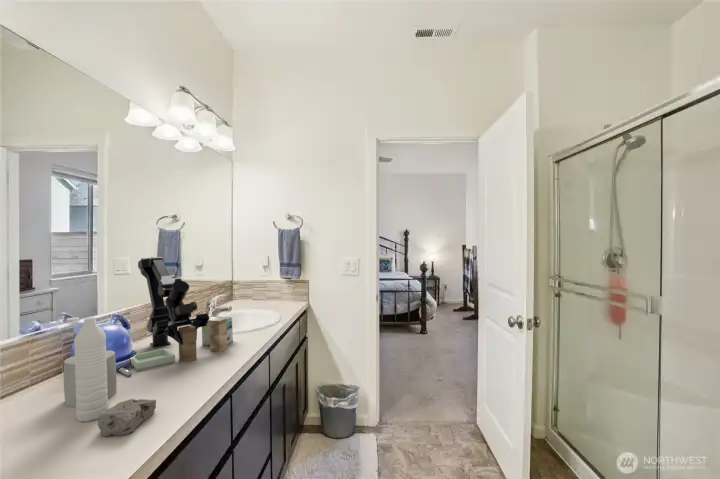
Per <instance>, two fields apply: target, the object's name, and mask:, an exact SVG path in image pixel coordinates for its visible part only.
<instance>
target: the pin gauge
mask: <svg viewBox="0 0 720 479" xmlns="http://www.w3.org/2000/svg"><path fill="white" fill-rule="evenodd" d="M119 371H120V373H121V374H123V375H124V376H126V377H129V376H130V377H132V375H133V372H132V371H130V370H127V369H126V368H124V367H122V368H120V369H119ZM119 371H118V372H119Z"/></svg>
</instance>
